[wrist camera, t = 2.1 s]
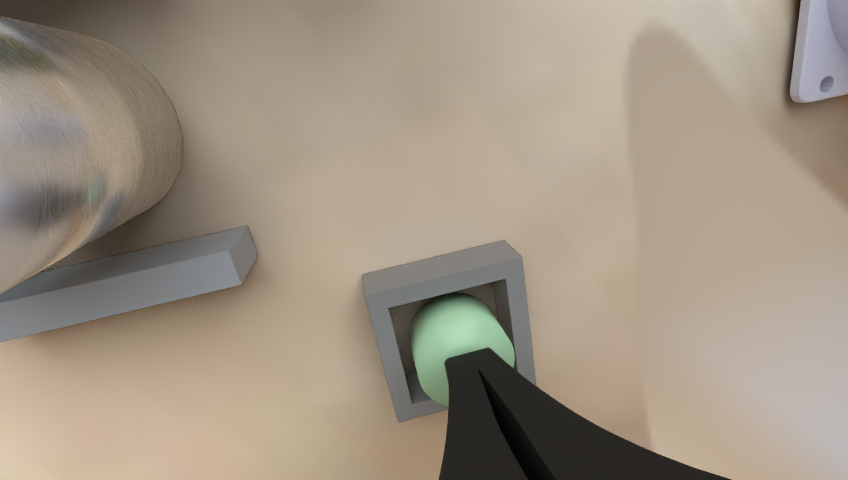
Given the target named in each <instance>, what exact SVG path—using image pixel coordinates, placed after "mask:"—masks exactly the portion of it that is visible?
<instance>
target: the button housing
mask: <svg viewBox="0 0 848 480" xmlns="http://www.w3.org/2000/svg"><path fill="white" fill-rule="evenodd" d="M490 282H493V285H494V292H495V299H496V307H497V314H498V321H499V324H500V326H501V327H502V329H503V330H504V332H505V333H506V335H507V337H508V338H509V340H510V341H511V343H512V346H513V349H514V354H515V361H514V367H513V368H514V369H515V370H516V371H517V372H519V373H520V374H521V375H522V376H524V377H525V378H526V379H527V380H529V381H530V382H531V383H533V384H534V385H535V384H536V378H535V369H534V360H533V351H532V342H531V333H530V324H529V315H528V306H527V297H526V288H525V279H524V270H523V261H522V256H521V255H520V254H518V253H517V252H516V251H515V250H514V249H513V248H512V247H511V246H510V245H509V244H508V243H507V242H506V241H505V240H502V241H498V242H494V243H490V244H486V245H482V246H478V247H473V248H469V249H465V250H461V251H457V252H453V253H449V254H445V255H440V256H436V257H432V258H428V259H424V260H420V261H416V262H412V263H408V264H403V265H399V266H395V267H391V268H387V269H383V270H379V271H375V272H371V273H366V274H363V286H364V297H365V300H366V304H367V308H368V311H369V315H370V319H371V323H372V326H373V330H374V334H375V337H376V341H377V345H378V348H379V352H380V356H381V360H382V363H383V367H384V371H385V374H386V378H387V382H388V386H389V389H390V393H391V397H392V400H393V404H394V408H395V411H396V415H397V419H398V423H399V422H403V421H407V420H410V419H414V418H417V417H421V416H424V415H428V414H432V413H435V412H439V411H442V410H446V409H449V406H447V405H443V404H440V403H438V402H436V401H434V400H433V399H432V398H430V397H429V396H428V395H427V394H426V393H425V392H424V390H423V389H422V387H421V385H420V382H419V379H418V375H417V372H415V373H411V374H407V375H406V373H405V368H404V364H403V360H402V356H401V352H400V348H399V344H398V340H397V336H396V332H395V328H394V324H393V320H392V316H391V312H390V308H391V307H395V306H399V305H403V304H407V303H411V302H415V301H419V300H423V299H427V298H431V297H434V296H438V295H442V294H446V293H450V292H454V291H458V290H462V289H466V288H470V287H474V286H478V285H482V284H486V283H490Z"/></svg>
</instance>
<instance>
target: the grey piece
mask: <svg viewBox="0 0 848 480" xmlns="http://www.w3.org/2000/svg"><path fill="white" fill-rule="evenodd" d="M257 256H258V253H257V250H256V248H255V245H254V242H253V239H252V236H251V234H250V231H249V228H248V226H243V227H239V228H235V229H230V230H226V231H221V232H217V233H212V234H208V235H204V236H199V237H195V238H190V239H186V240H181V241H177V242H172V243H168V244H164V245H159V246H155V247H150V248H146V249H141V250H137V251H133V252H128V253H124V254H119V255H115V256H110V257H106V258H102V259H97V260H93V261H88V262H84V263H79V264H75V265H71V266H66V267H62V268H57V269H53V270H48V271H44V272H39V273H37V274H35V275H33V276H31V277H30V278H28V279H26V280H25V281H23V282H21V283H19V284H18V285H16V286H14V287H12V288H11V289H9V290H7V291H5V292H4V293H2V294H0V342H3V341H7V340H12V339H16V338H20V337H24V336H28V335H33V334H37V333H41V332H45V331H49V330H54V329H58V328H62V327H66V326H70V325H75V324H79V323H83V322H87V321H91V320H95V319H100V318H104V317H108V316H112V315H116V314H121V313H125V312H129V311H133V310H137V309H142V308H146V307H150V306H154V305H158V304H163V303H167V302H171V301H175V300H179V299H183V298H188V297H192V296H196V295H200V294H204V293H209V292H213V291H217V290H221V289H225V288H230V287H234V286H238V285H242V283H243V281H244V279H245V278H246V276H247V274H248V272H249V270H250V269H251V267H252V265H253V263H254V261H255V260H256V258H257Z"/></svg>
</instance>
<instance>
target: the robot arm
mask: <svg viewBox="0 0 848 480" xmlns="http://www.w3.org/2000/svg"><path fill="white" fill-rule="evenodd" d="M820 84H821V85H820ZM846 94H848V0H801V4H800V12H799V20H798V28H797V37H796V45H795V53H794V61H793V69H792V77H791V85H790V96H791V98H792V100H793V101H795V102H798V103H811V102H815V101H820V100H824V99H828V98H833V97H837V96H842V95H846ZM444 365H445V370H446V375H447V380H448V385H449V412H448V424H447V434H446V443H445V450H444V456H443V461H442V467H441V472H440V476H439V480H731V479H728V478H725V477H721V476H718V475H715V474H712V473H709V472H706V471H702V470H699V469H696V468H693V467H690V466H688V465H685V464H683V463H680V462H677V461H675V460H672V459H670V458H667V457H664V456H662V455H659V454H657V453H654V452H652V451H650V450H647V449H645V448H643V447H641V446H638V445H636V444H634V443H632V442H630V441H628V440H625V439H623V438H621V437H619V436H617V435H614V434H613V433H611V432H609V431H607V430H605V429H603V428H601V427H599V426H597V425H595V424H594V423H592V422H590V421H588V420H587V419H585V418H583V417H581V416H580V415H578V414H576V413H575V412H573V411H572V410H570V409H568V408H567V407H565V406H564V405H562V404H561V403H559V402H558V401H556V400H555V399H553V398H552V397H550V396H549V395H548V394H546V393H545V392H543V391H542V390H541V389H539V388H538V387H537V386H535V385H534V384H533V383H531V382H530V381H529V380H527V379H526V378H525V377H524V376H522V375H521V374H520V373H519V372H517V371H516V370H515V369H514V368H513V367H511V366H510V365H509V364H508V363H507V362H505V361H504V360H503V359H502V358H501V357H500V356H499V355H498V354H496V353H495V352H494V351H493V350H492V349H490V348H489V347H487V348H484V349H480V350H476V351H472V352H469V353H465V354H461V355H458V356H454V357H450V358H447V359H446V361H445V362H444Z"/></svg>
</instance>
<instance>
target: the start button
mask: <svg viewBox="0 0 848 480" xmlns="http://www.w3.org/2000/svg"><path fill="white" fill-rule="evenodd" d="M409 341H410V346H411V350H412V354H413V358H414V362H415V367H416V371H417V375H418V379H419V382H420V385H421V387H422V389H423V390H424V392H425V393H426V394H427V395H428V396H429V397H430V398H432V399H433V400H434V401H436V402H438V403H440V404H443V405H447V406H449V385H448V380H447V375H446V370H445V365H444V362H445V361H446V359H447V358H450V357H454V356H458V355H461V354H465V353H469V352H472V351H476V350H480V349H484V348H487V347H489V348H490V349H492V350H493V351H494V352H495V353H496V354H498V355H499V356H500V357H501V358H502V359H503V360H504V361H505V362H507V363H508V364H509V365H510V366H511V367H514V361H515V354H514V349H513V346H512V343H511V341H510V340H509V338H508V337H507V335H506V333H505V332H504V330H503V329H502V327H501V326H500V324H499V323H498V321H497V320H496V318H495V317H494V315H493V314H492V312H491V311H490V309H489V308H488V306H487V305H486V304H485V303H484V302H483V301H482V300H480V299H479V298H477V297H475V296H472V295H469V294H465V293H449V294H444V295H441V296H438V297H436V298H434V299H432V300H431V301H429V302H428V303H426V304H425V305H424V306H423V307H422V308H421V309H420V310H419V311H418V312H417V314H416V315H415V317H414V318H413V321H412V323H411V326H410V330H409Z"/></svg>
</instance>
